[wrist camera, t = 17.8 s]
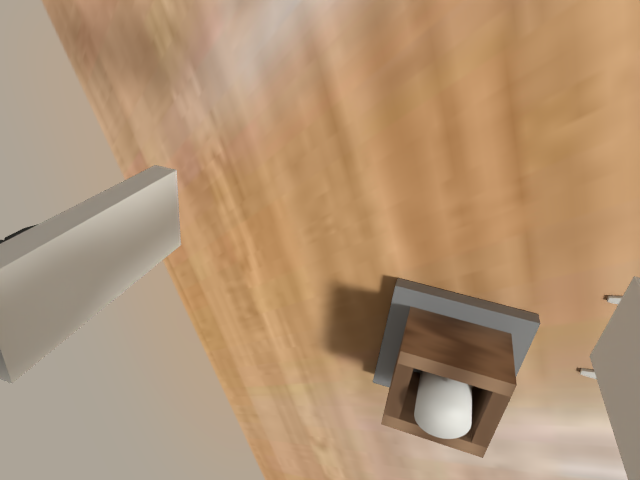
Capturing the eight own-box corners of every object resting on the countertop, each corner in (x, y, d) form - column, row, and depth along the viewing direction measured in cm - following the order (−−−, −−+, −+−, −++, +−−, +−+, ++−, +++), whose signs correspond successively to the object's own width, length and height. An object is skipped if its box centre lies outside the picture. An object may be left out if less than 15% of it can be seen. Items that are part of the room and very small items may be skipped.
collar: (392, 375, 51) (381, 424, 45) (410, 306, 46) (400, 351, 40) (482, 402, 49) (482, 457, 43) (511, 333, 44) (516, 385, 38)
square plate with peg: (375, 373, 54) (355, 442, 45) (397, 277, 47) (379, 338, 38) (495, 410, 51) (498, 491, 42) (538, 314, 44) (552, 388, 35)
